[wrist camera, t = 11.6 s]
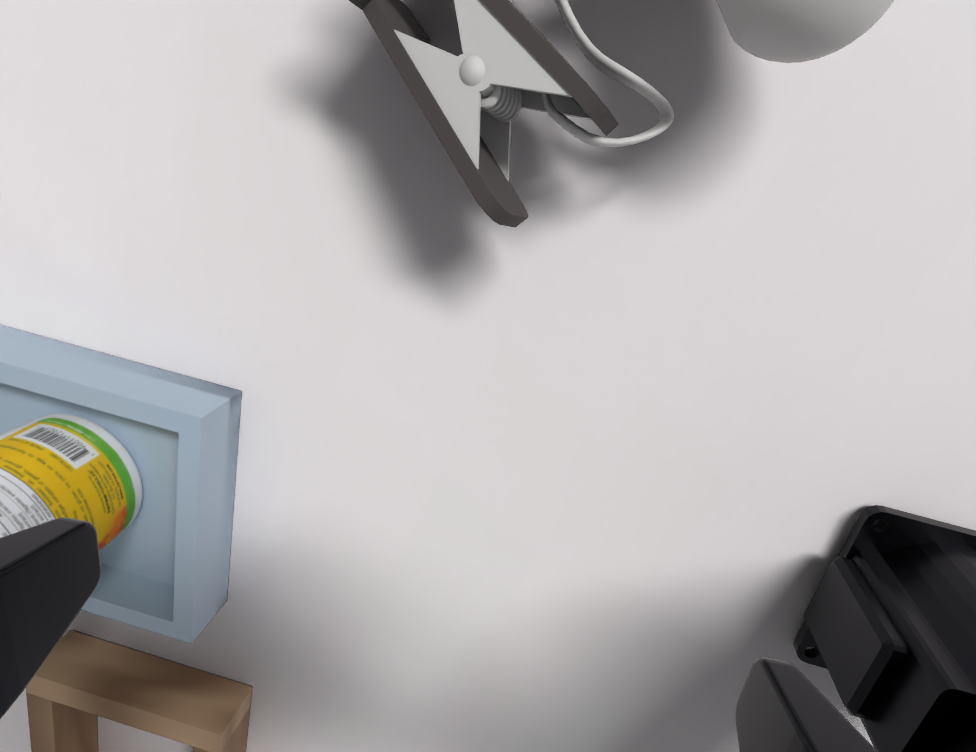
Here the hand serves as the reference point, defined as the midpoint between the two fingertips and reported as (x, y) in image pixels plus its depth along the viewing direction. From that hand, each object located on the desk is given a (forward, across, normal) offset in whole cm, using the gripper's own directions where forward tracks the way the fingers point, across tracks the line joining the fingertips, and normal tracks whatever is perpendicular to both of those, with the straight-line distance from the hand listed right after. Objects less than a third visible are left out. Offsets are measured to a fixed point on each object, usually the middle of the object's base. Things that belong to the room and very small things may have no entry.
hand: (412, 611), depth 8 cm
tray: (+14, +16, +9) cm, 22 cm away
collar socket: (+13, +14, +23) cm, 30 cm away
